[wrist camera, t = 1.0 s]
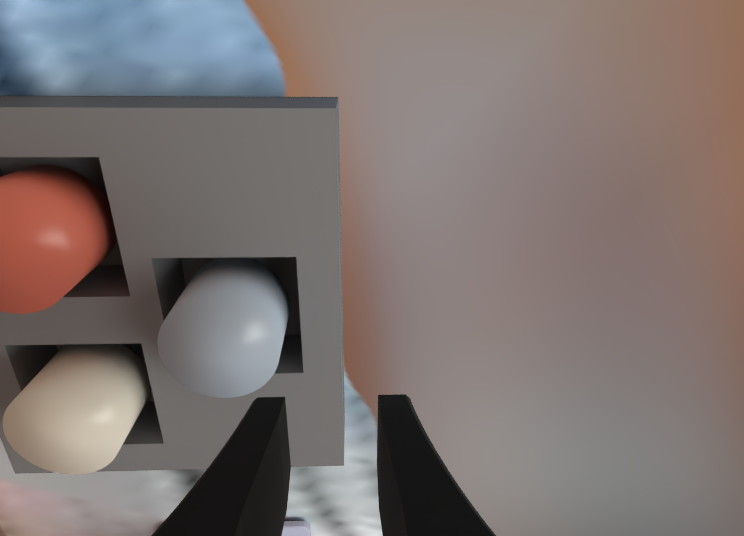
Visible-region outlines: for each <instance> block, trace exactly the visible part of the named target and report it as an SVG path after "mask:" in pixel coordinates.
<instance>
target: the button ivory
mask: <svg viewBox="0 0 744 536" xmlns="http://www.w3.org/2000/svg"><path fill="white" fill-rule="evenodd" d="M150 393H151V385H150V380H149V376H148V371H147V367H146V365H145V363H144V362H143V360H142V359H141V358H140V357H139V356H138V355H137V354H136V353H134V352H133V351H132V350H130V349H129V348H127V347H125V346H123V345H121V344H67V345H65V346H64V347H62V348H61V349H60V350H59V351H58V352H57V353H56V354H55V356H54V357H53V358H52V359H51V360H50V361H49V362H48V363H47V364H46V365H45V366H44V367H43V369H42V370H41V371H40V372H39V373H38V374H37V375H36V376H35V377H34V378H33V379H32V381H31V382H30V383H29V384H28V385H27V386H26V387H25V388H24V389H23V390H22V391H21V392H20V394H19V395H18V396H17V397H16V398H15V399H14V400H13V401H12V402H11V403H10V404H9V406H8V407H7V409H6V411H5V413H4V416H3V424H2V425H3V431H4V434H5V437H6V439H7V441H8V442H9V444H10V445H11V447H12V448H13V449H14V450H15V451H16V452H17V453H18V454H19V455H20V456H21V457H23V458H24V459H25V460H27V461H29V462H30V463H32V464H34V465H36V466H38V467H40V468H42V469H45V470H48V471H51V472H55V473H60V474H68V475H79V474H87V473H92V472H95V471H98V470H100V469H102V468H104V467H106V466H107V465H108V464H110V463H111V462H112V461H113V460H114V458H115V457H116V455H117V454H118V452H119V450H120V448H121V446H122V445H123V443H124V441H125V439H126V437H127V436H128V434H129V432H130V430H131V428H132V427H133V425H134V423H135V421H136V419H137V418H138V416H139V414H140V412H141V410H142V409H143V407H144V405H145V403H146V401H147V400H148V398H149V396H150Z"/></svg>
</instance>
